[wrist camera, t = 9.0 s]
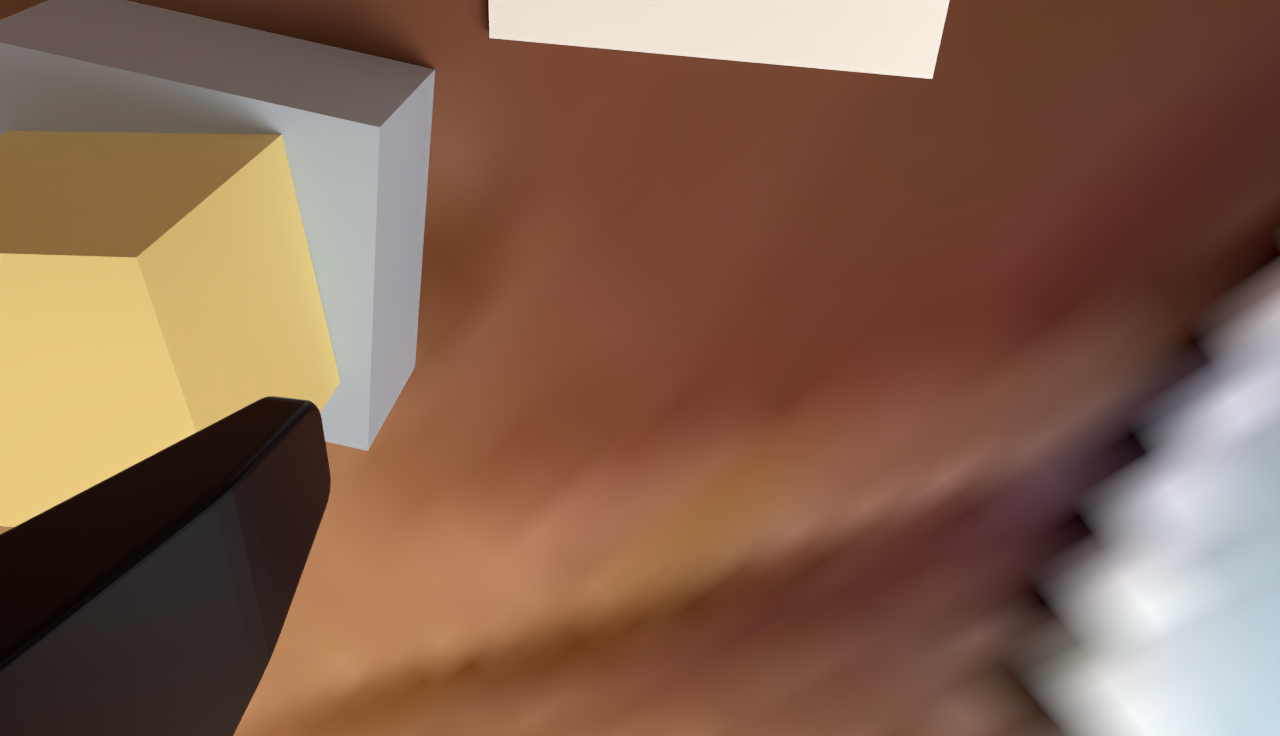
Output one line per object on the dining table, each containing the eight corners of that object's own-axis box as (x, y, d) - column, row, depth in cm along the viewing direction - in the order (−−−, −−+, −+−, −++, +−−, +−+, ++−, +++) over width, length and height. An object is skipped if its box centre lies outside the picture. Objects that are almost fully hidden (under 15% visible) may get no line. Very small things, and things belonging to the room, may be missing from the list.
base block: (441, 62, 20) (379, 127, 17) (420, 357, 23) (367, 451, 21) (86, -16, 20) (-35, 34, 17) (126, 291, 23) (32, 375, 21)
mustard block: (281, 134, 17) (136, 258, 13) (340, 381, 20) (233, 541, 16) (8, 131, 18) (-204, 247, 14) (102, 370, 20) (-54, 522, 17)
